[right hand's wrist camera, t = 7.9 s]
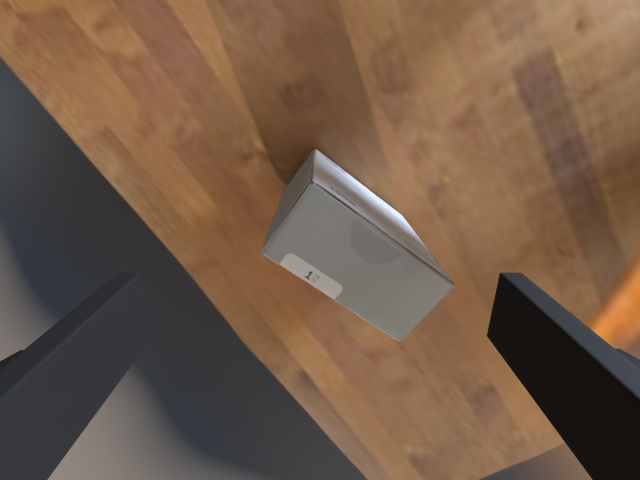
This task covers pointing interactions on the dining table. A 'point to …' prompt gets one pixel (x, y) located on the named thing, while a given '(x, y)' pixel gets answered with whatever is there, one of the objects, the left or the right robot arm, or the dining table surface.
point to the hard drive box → (354, 248)
